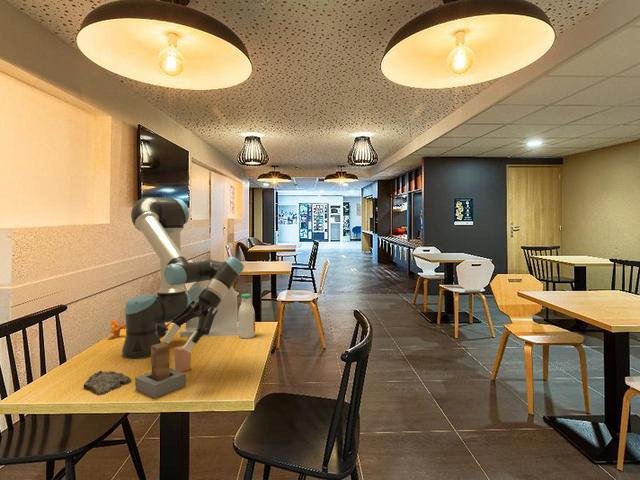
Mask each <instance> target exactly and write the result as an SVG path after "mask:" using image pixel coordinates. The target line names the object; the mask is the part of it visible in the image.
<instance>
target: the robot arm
mask: <svg viewBox="0 0 640 480" xmlns="http://www.w3.org/2000/svg"><path fill="white" fill-rule="evenodd" d="M130 212H131V213H130V218H131V222H132V224H133V226H134V227H135V229H136V230H137V231H139V232H141V233H142V234H143V236H144V237H145V239H146V240H147V242H148V243H149V245H150V246H151V248H152V250H154V253H156V255H157V257H158V258H159V264H160V265H159V267H160V269H159V271H160V288H159V289H158V290H157V292H156V293H157V294H154V293H146V294H140V295H136V296H133V297H131V298H129V299H128V300H127V301H126V302H125V309H124V313H125V325H126V328H125V329H126V330H125V332H126V335H125V340H124V343H123V345H122V349H121V355H122V357H124V358H127V359H141V358H148V357H151V346H152V345H156V344H160V343H162V341H164V342H165V344H167V345H169V344H170V342H171V341H172V340H173V338H174V337H175V336H176V334H178V332H179V330H180V329H181V328H182V326H183V325H184V324H186V322H187V321H189V320H190V319H192V318H193V317H199V323H198V329H196V331H197V332H196V331H195V332H194V333H193V334H192V336H191V337H189V338H188V340H187V341H186V343H185V344H184V347H183V349H184V350H186V351H187V352H188V353H190V354H191V351H192V350H193V348H194V347H195V345H196V344H197V343H198V342H199V341H200V339H201V338H202V337H204V336H203V335H204V334H206V335H208V334H209V332H210V329H211V326H212V323H213V320H214V317H215V315H216V313H217V311H218V310H217V309H216V308H217V306H218V305H219V303H220V302H221V299H223V298H224V296H225V295H226V293H227V292H228V290H229V289H230V288H231V287H233V286H234V283H236V281H237V280H238V278H239V277H240V276H241V274H242V272H243V270H244V269H245V266H244V264H243V262H242V261H241V260H240V259H238V258H236V257H235V256H228V257H227V258H226V259H225V260H224V261H218V260H215V259H214V260H213V259H206V258H205V259H202V260H201V261H193V262H189V261H188V260H187V258H186V257H185V256H184V255H183V253H182V252H181V249H182V248H181V231H183V229H185V228H184V227H185V226H184V225H186V224H187V223H188V221H189V219H190V218H189V217H190V211H189V208H188V206H187V203H185V201H184V200H183V199H181V198H175V197H159V196H158V197H156V196H155V197H153V196H146V197H143V198H140V199H139V200H137V201H136V202H135V204H134V205H133V206H132V209H131V211H130ZM207 280H210V282H209V283H208V284H207V286H206V287H205V289H204V290H203V291H202V292H201V294H200V295H199V296H198V298H199V302H198V303H195V302H194V301H192V302H191V298H190V295H189V294H188V292H186V288H184V286H183V285H186V284H190V283H191V284H192V283H196V282H200V281H207ZM170 322H172V323H173V324H172V325H171V326H170V328H168V329H169V330H168V331H166V332H165V335H164V336H163V337H162V339H160V336H158V333H157V324H161V323H165V324H166V323H170ZM206 329H207V330H206ZM161 340H162V341H161Z"/></svg>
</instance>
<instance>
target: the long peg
mask: <svg viewBox="0 0 640 480" xmlns="http://www.w3.org/2000/svg"><path fill="white" fill-rule="evenodd" d="M150 358H151V359H150V360H151V361H150V366H151V372H152V379H153V380H155V381H159V380H162V379H165V378H167V377H170V346H169V344H168V343H166V342H165V343H164V342H161V343H160V344H156V345H152V346H151V356H150Z"/></svg>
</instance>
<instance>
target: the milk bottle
mask: <svg viewBox="0 0 640 480" xmlns="http://www.w3.org/2000/svg"><path fill="white" fill-rule="evenodd" d="M240 298H241V303H240V306H239V308H238V311H237V318H238V330H239V335H238V337H239V338H241V339H252V338H254V337H255V336H256V313H255V309H254V308H255V307H254V306H253V303H252V293H242V294H241V296H240Z"/></svg>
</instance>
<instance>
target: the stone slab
mask: <svg viewBox="0 0 640 480" xmlns="http://www.w3.org/2000/svg"><path fill="white" fill-rule="evenodd" d="M131 382H132V380H131V378H130V377H129V375H128V376H127V375H124V374H123V373H122V372H116V371H113V370H112V371H111V370H109V371H102V370H99V371H97V372H95V373H93V374H92V375H91V376H89V377H88V378H87V380H86V381H85V382H84V384H83V388H84V389H86V390H90V391H91V390H92V393H93V394H96V396H102V394H103V395H107V394H109V393H110V392H111V390H112V391H115V390H117V389H118V388H121V387H122V385H123V386H126V385H128V384H130V383H131ZM108 392H109V393H108ZM106 393H107V394H106Z"/></svg>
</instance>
